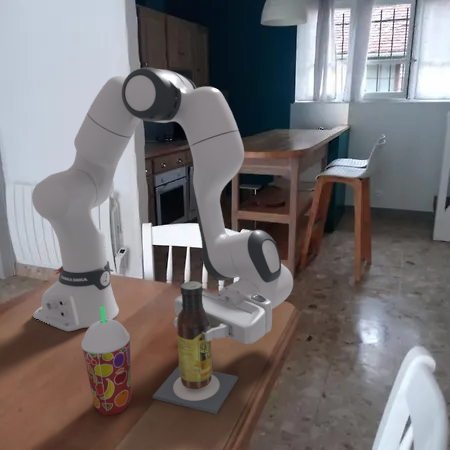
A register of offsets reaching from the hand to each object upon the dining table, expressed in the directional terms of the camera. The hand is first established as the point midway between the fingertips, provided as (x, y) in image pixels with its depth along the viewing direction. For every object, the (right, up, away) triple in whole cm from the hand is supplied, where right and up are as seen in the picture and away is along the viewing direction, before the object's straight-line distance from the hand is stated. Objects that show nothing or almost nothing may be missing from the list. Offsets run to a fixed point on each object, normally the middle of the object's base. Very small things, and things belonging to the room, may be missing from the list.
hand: (189, 330), depth 82 cm
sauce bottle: (+1, -11, +4) cm, 11 cm away
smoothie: (-14, -14, 0) cm, 20 cm away
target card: (+1, -12, +4) cm, 13 cm away
